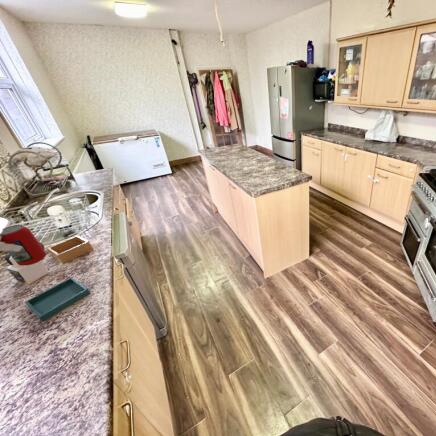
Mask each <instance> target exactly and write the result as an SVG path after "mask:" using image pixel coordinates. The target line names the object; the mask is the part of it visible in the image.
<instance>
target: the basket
mask: <svg viewBox="0 0 436 436" xmlns="http://www.w3.org/2000/svg"><path fill="white" fill-rule="evenodd" d="M46 250H47V251H48V253H49V254H50V255H51V257H52V258H54V259H55V260H56V261H58V262H59V263H60V264H63V265H64V264H66V263H68V262H70V261H72V260H74V259H76V258H79V257H80V256H83V255H84V254H86V253H88V252H91V251H93V250H94V248H93V246H92V244H91V242H90V241H89V240H87V239H86V238H84V237H82V236H80V235H75V236H72V237H70V238H68V239H66V240H63V241H61V242H58V243H56V244H54V245H51V246H49V247H47V248H46Z"/></svg>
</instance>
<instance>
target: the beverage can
mask: <svg viewBox="0 0 436 436" xmlns="http://www.w3.org/2000/svg"><path fill="white" fill-rule="evenodd" d="M2 230H3V231H2V233H1V234H0V235H1V236H2V238H1V240H0V242H5V244H15V243H16V244H21V245H22V248H21V250H20V251H19V252H16V251H6V252H7V253H8V254H10V255H11V257H12V258H13V259H14V260H15V261H16V263H17V264H18V265H21V266H24V265H25V266H27V265H32V264H35V263H37V262H39V261H41V262H42V261H43V260H44V258H46V256H47V252H46V250H45V248H44V249H43V248H42V246H41V245H40V243H41V242H40V241H39V240H38V239H37V238H36V236H35V235H34V234H33V232H32V231H31V228H28V227H26V226H24V225H23V224H14V225H9V227H7V228H4V229H2ZM38 241H39V242H40V243H39V242H38Z"/></svg>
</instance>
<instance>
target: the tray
mask: <svg viewBox="0 0 436 436" xmlns="http://www.w3.org/2000/svg"><path fill="white" fill-rule="evenodd" d="M90 294H91V291H90V290H89V288H87V287H86V286H84V285H83V284H82V283H81V282H79V281H77V279H75V278H73V277H72V276H71V277H69V278H67V279H65V280H63V281H61V282H60V283H57V284H55V285H53V286H52V287H50V288H48V289H46V290H44V291H43V292H41V293H38V294H36V295H35V296H33V297H31V298H29V299H27V300H26V301H24V304H25V305H26V306H27V307H28V308H29V309H30V310H31V311H32V312H33V314H34V315H35V316H36V317H37V318H39V320H40V321H41V322H42V323H44V322H46V320H49V319H50V318H52V317H54V316H55V315H57V314H58V313H60V312H62V311H63V310H65V309H66V308H69V307H70V306H72V305H74V304H76V303H77V302H78V301H80V300H82V299H83V298H85V297H87V296H88V295H90Z"/></svg>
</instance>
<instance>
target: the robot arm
mask: <svg viewBox="0 0 436 436" xmlns="http://www.w3.org/2000/svg"><path fill="white" fill-rule="evenodd" d="M11 223H12V221H11V220H9V219H7V218H4V217H1V216H0V234H1V233H2V231H3V230H2V229H4V228H7V227H10V226H11ZM1 238H2V236H1V235H0V240H1ZM21 248H22V245H21V244H16V243H15V244H5V242H0V252H7V251H16V252H19V251H20V250H21Z"/></svg>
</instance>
